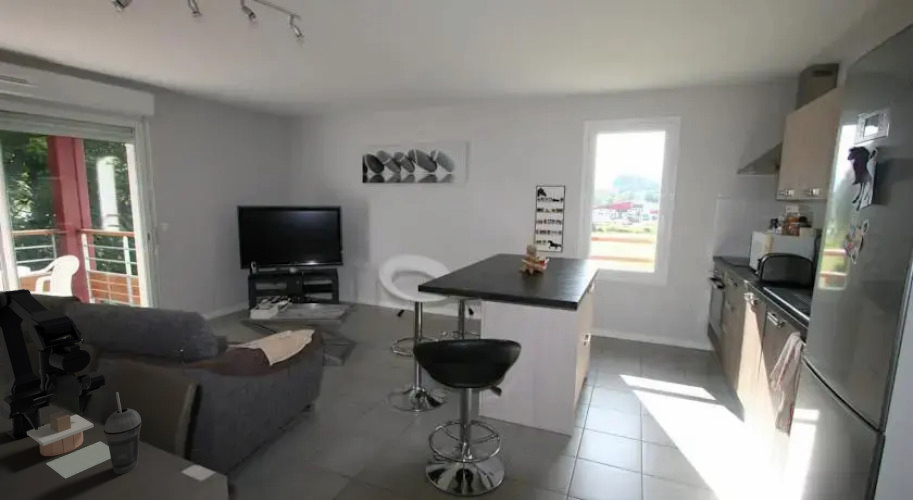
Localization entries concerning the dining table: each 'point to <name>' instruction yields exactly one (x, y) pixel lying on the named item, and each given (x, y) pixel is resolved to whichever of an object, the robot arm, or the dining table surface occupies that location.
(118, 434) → the beverage cup
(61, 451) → the segmented pink ring
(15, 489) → the dining table surface
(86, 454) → the mat
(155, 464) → the dining table surface
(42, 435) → the cover sheet
